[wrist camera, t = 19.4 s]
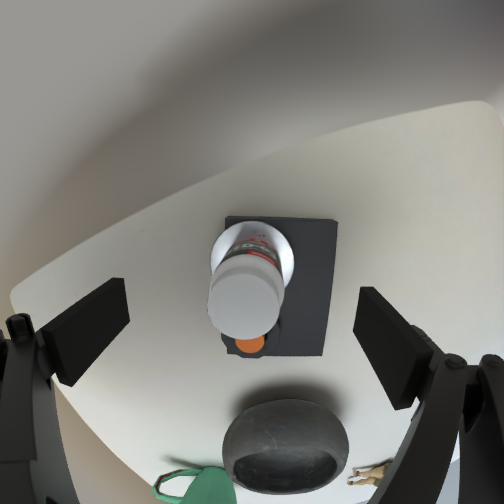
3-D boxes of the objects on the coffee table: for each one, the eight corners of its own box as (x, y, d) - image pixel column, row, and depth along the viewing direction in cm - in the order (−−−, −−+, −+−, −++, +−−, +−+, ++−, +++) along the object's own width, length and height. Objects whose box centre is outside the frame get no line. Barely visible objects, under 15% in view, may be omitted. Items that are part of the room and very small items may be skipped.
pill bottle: (280, 236, 22) (288, 266, 14) (280, 291, 23) (286, 345, 15) (222, 237, 22) (197, 266, 14) (224, 291, 23) (204, 343, 15)
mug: (251, 468, 35) (247, 514, 26) (233, 487, 38) (228, 527, 28) (167, 443, 35) (150, 489, 25) (160, 465, 37) (145, 504, 27)
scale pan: (195, 249, 23) (193, 251, 23) (264, 204, 22) (264, 204, 22) (240, 314, 24) (239, 316, 24) (308, 274, 23) (309, 276, 23)
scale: (319, 346, 29) (324, 364, 25) (226, 344, 29) (222, 362, 26) (333, 219, 25) (342, 224, 22) (225, 215, 26) (219, 220, 23)
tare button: (264, 344, 25) (263, 353, 24) (237, 343, 26) (235, 352, 24) (265, 321, 25) (264, 329, 23) (236, 320, 25) (235, 328, 23)
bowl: (237, 448, 34) (230, 500, 24) (219, 381, 31) (204, 443, 21) (334, 441, 33) (344, 491, 23) (342, 371, 29) (363, 431, 20)
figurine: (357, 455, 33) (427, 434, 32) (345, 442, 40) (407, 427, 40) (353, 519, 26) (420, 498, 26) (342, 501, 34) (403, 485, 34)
